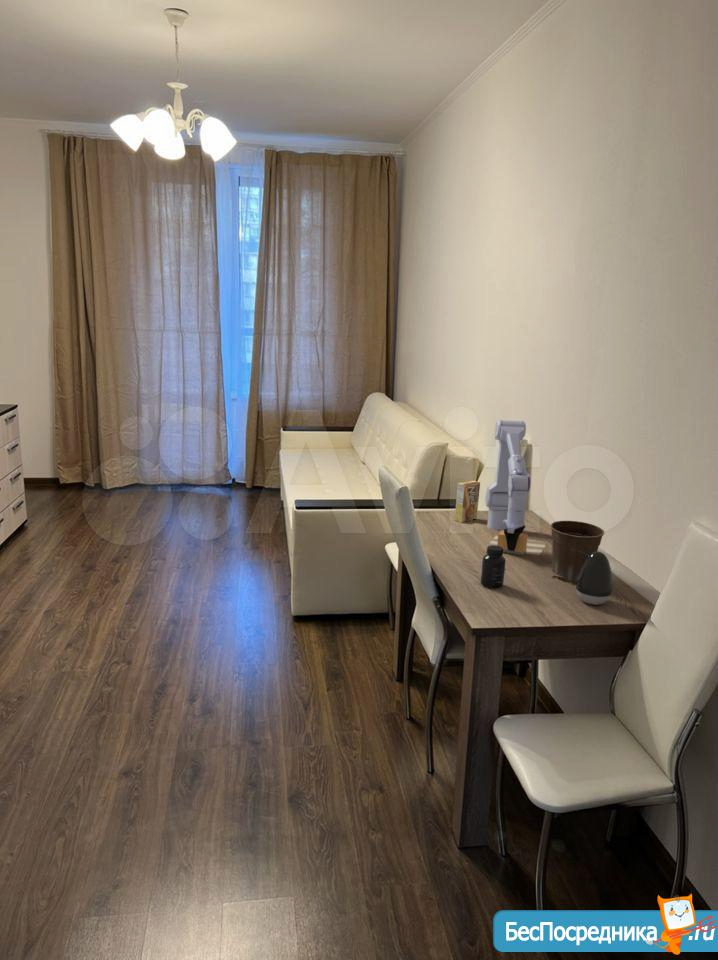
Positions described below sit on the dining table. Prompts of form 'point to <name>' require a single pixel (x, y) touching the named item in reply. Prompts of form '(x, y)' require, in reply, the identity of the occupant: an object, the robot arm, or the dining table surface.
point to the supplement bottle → (493, 567)
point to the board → (532, 546)
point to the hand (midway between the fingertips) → (512, 547)
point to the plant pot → (572, 547)
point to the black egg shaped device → (594, 579)
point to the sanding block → (520, 544)
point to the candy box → (467, 501)
